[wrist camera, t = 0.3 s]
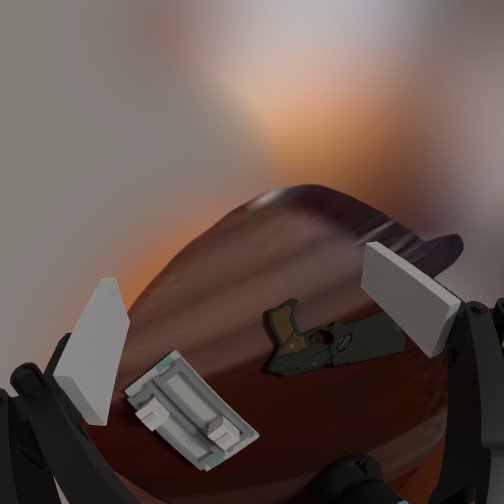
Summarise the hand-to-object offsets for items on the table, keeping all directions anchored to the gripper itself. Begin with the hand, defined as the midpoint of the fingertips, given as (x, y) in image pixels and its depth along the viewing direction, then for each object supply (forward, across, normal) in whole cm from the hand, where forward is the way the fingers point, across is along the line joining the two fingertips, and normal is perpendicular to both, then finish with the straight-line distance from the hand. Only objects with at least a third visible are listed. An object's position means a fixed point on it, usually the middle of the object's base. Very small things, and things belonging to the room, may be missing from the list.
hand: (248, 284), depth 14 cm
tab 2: (+15, +4, +37) cm, 40 cm away
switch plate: (+18, +10, +36) cm, 42 cm away
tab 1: (+18, +15, +34) cm, 41 cm away
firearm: (+24, -19, +27) cm, 41 cm away
